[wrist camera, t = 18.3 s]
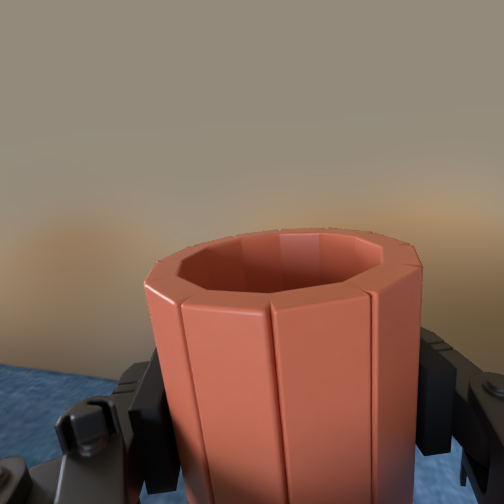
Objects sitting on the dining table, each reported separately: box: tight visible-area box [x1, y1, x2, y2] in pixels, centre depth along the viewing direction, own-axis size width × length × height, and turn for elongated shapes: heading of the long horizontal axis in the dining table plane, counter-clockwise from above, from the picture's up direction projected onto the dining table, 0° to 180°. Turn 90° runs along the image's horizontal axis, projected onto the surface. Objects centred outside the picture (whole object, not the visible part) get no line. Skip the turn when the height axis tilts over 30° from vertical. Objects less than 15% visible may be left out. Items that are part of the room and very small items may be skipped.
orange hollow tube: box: [144, 228, 423, 504], centre depth 9 cm, size 7×7×10 cm
